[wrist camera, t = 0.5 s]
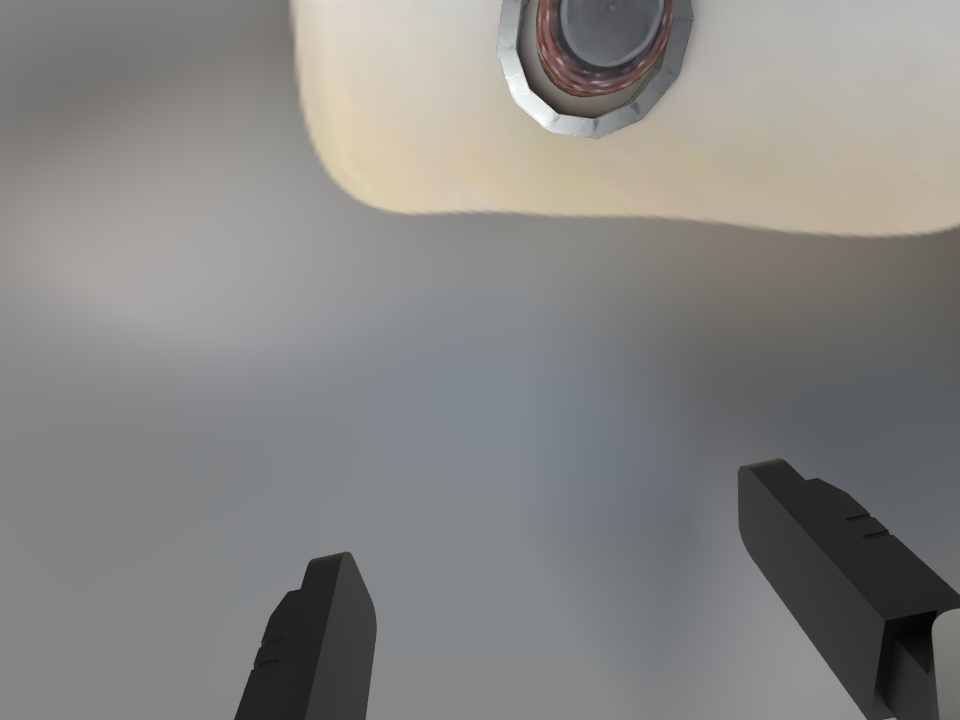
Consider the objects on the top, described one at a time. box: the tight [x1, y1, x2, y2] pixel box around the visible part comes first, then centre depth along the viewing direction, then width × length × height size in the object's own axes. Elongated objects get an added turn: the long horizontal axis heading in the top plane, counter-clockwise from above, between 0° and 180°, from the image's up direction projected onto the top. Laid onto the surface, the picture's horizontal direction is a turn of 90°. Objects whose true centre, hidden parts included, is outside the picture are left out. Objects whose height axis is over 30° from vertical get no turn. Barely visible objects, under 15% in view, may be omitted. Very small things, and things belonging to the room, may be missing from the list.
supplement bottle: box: [536, 0, 674, 97], centre depth 25 cm, size 6×6×11 cm
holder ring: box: [497, 0, 694, 139], centre depth 29 cm, size 10×10×2 cm
